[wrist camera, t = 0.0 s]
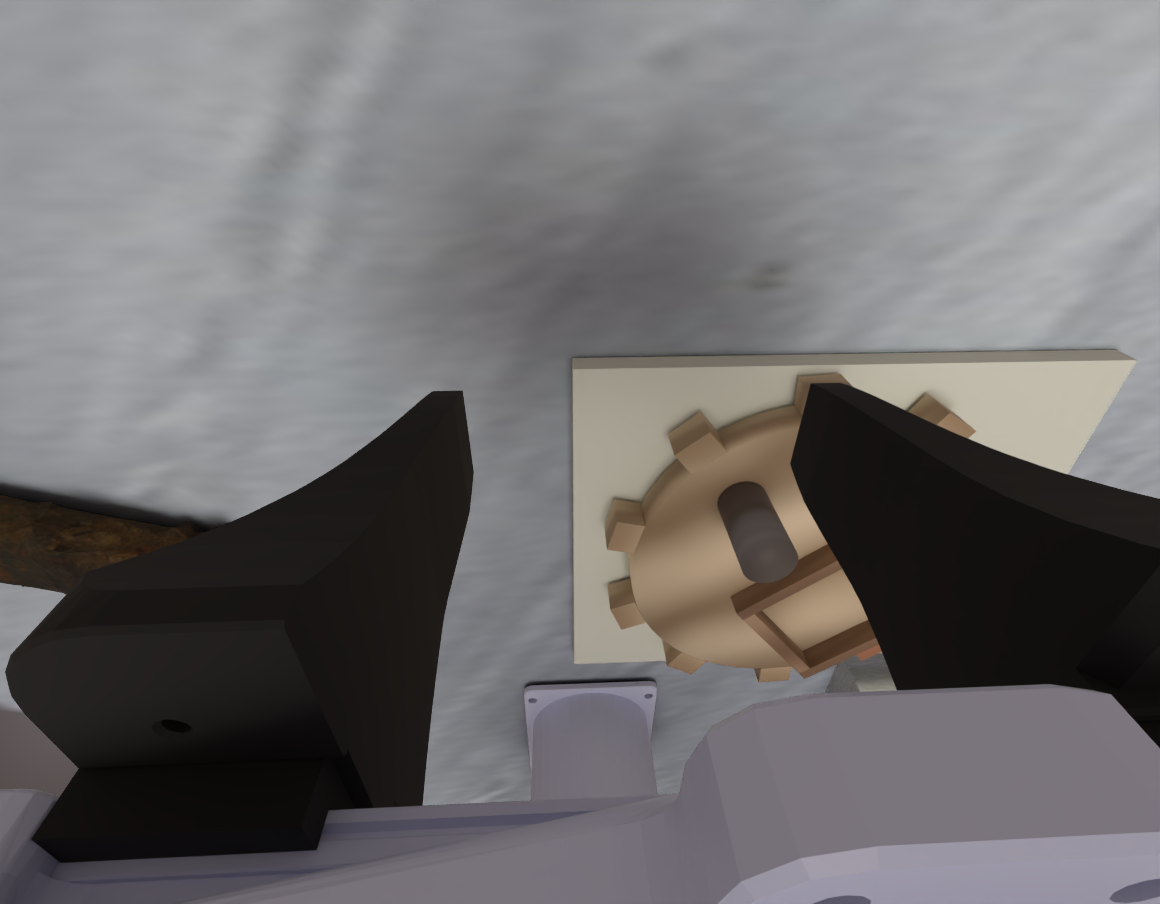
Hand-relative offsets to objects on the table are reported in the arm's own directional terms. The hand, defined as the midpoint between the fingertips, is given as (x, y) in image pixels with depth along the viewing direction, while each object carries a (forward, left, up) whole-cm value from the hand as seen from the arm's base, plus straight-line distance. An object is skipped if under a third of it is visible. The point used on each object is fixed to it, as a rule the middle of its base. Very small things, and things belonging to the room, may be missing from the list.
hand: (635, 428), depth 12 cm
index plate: (-12, -10, -10) cm, 19 cm away
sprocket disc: (-12, -9, -9) cm, 17 cm away
